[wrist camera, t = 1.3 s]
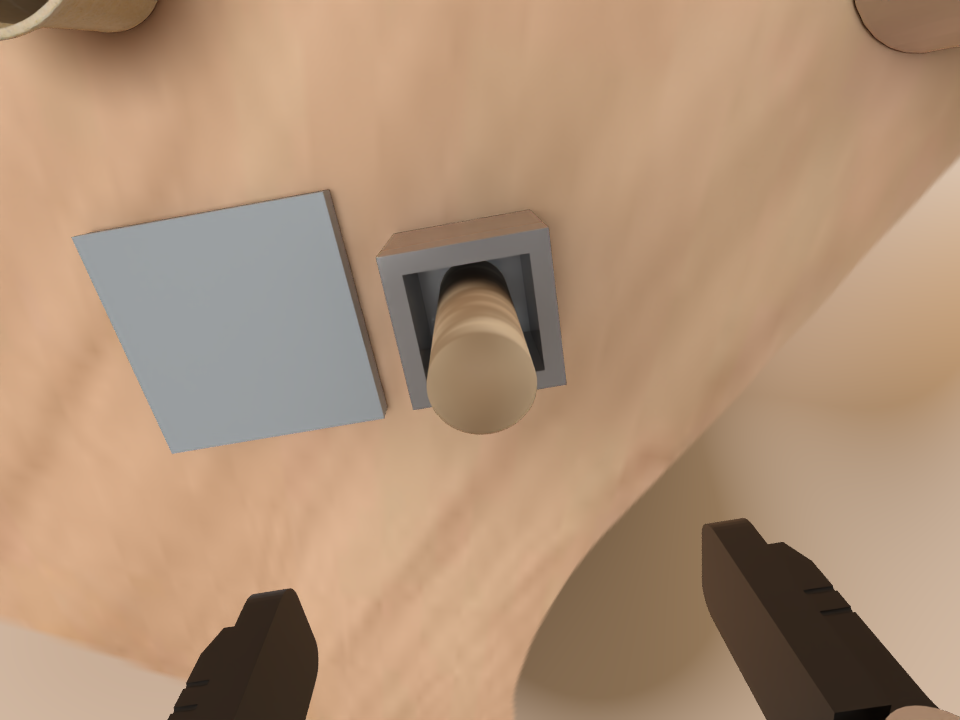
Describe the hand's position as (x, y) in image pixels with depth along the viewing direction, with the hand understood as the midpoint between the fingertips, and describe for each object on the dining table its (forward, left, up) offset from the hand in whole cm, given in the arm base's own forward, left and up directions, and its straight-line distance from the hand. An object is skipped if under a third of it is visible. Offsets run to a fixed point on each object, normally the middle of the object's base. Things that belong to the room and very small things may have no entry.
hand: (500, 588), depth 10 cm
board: (+14, 0, -23) cm, 27 cm away
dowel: (0, 0, -22) cm, 22 cm away
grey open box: (0, 0, -23) cm, 23 cm away
